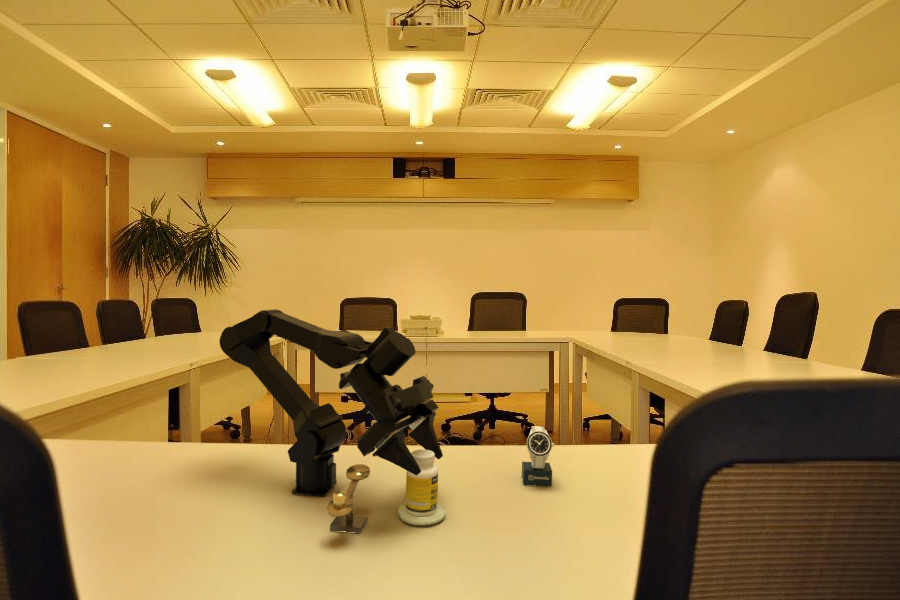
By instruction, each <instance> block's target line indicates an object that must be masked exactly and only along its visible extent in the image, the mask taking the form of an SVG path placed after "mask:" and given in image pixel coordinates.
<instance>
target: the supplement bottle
mask: <svg viewBox="0 0 900 600" xmlns="http://www.w3.org/2000/svg"><path fill="white" fill-rule="evenodd" d="M411 454H412V456H413V457H414V459H415V460H416V462H417V464H418V466H419V468H420V469H421V472H420V473H419V474H418V475H414V474H412V473H411V472H409V471H407V470H406V473H405V474H406V477H405V478H406V479H405V480H406V481H405V487H406V488H405V503H406V504H405V508H406V511H407V512H408V513H410V514H412V515H415V516H427V515H431V514H433V513H434V512H435V511H436V509H437V502H438V489H439V468H438V467H437V465H436V464H434V463H435V459H436V457H435V453H434V452H433V451H430V450H426V449H417V450H414V451H412V452H411Z"/></svg>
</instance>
